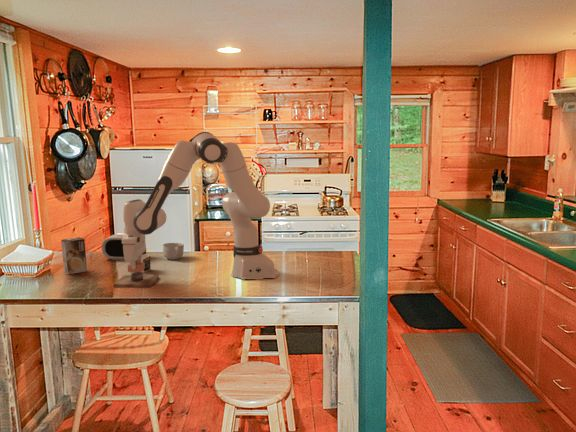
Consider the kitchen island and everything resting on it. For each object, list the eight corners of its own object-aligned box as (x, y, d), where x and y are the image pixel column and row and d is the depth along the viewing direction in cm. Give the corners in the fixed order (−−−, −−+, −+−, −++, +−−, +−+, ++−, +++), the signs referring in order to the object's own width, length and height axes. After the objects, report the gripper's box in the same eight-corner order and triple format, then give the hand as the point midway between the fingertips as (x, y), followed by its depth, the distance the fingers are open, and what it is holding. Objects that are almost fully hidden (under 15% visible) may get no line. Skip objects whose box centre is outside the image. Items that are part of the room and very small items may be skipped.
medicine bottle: (144, 273, 240) (142, 248, 238) (130, 272, 241) (129, 248, 240) (150, 269, 247) (149, 245, 245) (137, 268, 248) (136, 244, 246)
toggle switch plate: (158, 277, 232) (158, 256, 231) (150, 287, 218) (149, 264, 217) (124, 277, 232) (123, 256, 231) (113, 286, 219) (112, 264, 217)
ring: (144, 268, 227) (144, 262, 227) (141, 271, 222) (140, 265, 221) (132, 268, 227) (131, 262, 227) (127, 271, 222) (127, 265, 221)
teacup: (162, 257, 272) (162, 242, 271) (183, 255, 275) (182, 241, 274) (164, 263, 259) (164, 248, 257) (186, 261, 262) (185, 246, 261)
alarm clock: (101, 260, 264) (100, 235, 262) (108, 256, 273) (107, 232, 271) (140, 261, 263) (139, 236, 261) (146, 256, 273) (145, 232, 271)
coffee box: (83, 268, 248) (80, 236, 245) (87, 271, 243) (85, 239, 240) (63, 272, 242) (61, 239, 239) (67, 274, 237) (65, 241, 235)
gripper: (135, 231, 232) (136, 260, 235) (120, 240, 212) (121, 272, 214) (148, 231, 232) (149, 260, 234) (135, 240, 212) (136, 272, 214)
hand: (136, 266), depth 224 cm, fingers closed on ring, 6 cm apart
